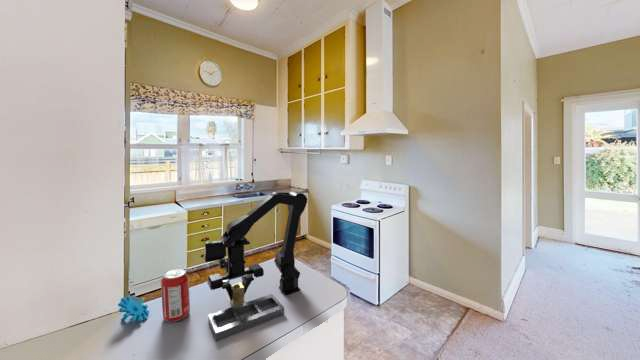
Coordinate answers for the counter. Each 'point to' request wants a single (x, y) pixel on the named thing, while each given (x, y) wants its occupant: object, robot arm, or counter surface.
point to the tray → (248, 321)
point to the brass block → (237, 294)
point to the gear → (133, 308)
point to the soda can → (175, 295)
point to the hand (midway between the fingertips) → (237, 297)
